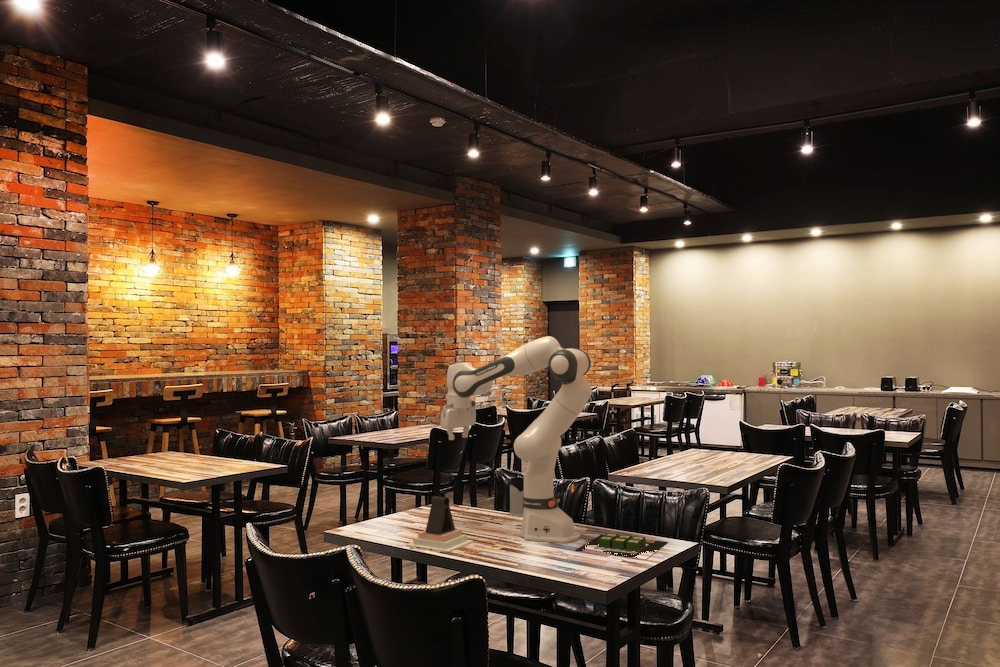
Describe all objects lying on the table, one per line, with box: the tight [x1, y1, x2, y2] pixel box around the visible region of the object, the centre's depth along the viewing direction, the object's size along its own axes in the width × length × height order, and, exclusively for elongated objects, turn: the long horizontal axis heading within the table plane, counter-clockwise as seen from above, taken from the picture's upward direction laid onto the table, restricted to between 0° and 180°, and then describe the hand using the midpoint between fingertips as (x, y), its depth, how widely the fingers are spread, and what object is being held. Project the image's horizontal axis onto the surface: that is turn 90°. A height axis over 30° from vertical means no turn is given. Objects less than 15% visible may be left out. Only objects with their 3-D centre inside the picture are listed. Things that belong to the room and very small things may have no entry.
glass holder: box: [508, 476, 524, 516], centre depth 311 cm, size 9×14×15 cm, turn 123°
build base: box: [405, 528, 475, 553], centre depth 262 cm, size 18×16×5 cm
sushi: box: [575, 532, 669, 558], centre depth 256 cm, size 25×25×4 cm
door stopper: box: [425, 495, 456, 534], centre depth 262 cm, size 9×6×12 cm, turn 143°
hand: (458, 438), depth 290 cm, fingers open, 8 cm apart
